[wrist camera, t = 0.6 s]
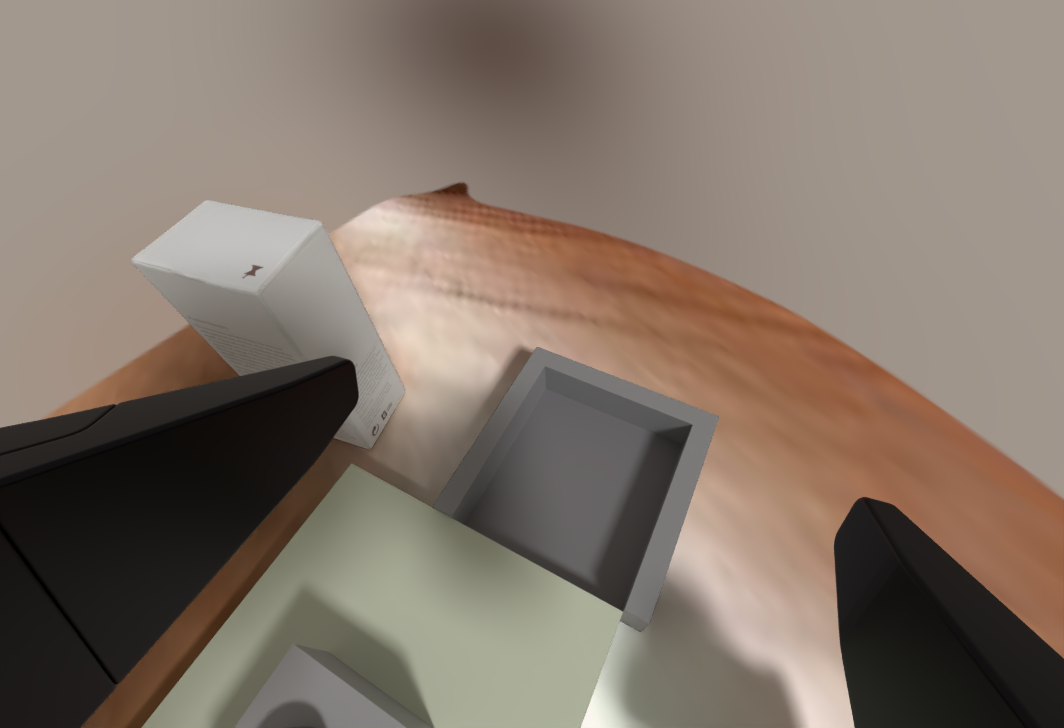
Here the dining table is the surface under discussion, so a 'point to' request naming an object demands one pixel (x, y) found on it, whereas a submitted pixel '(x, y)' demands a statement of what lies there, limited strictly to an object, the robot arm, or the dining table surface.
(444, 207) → the dining table surface
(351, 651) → the fixture base
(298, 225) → the skincare box
